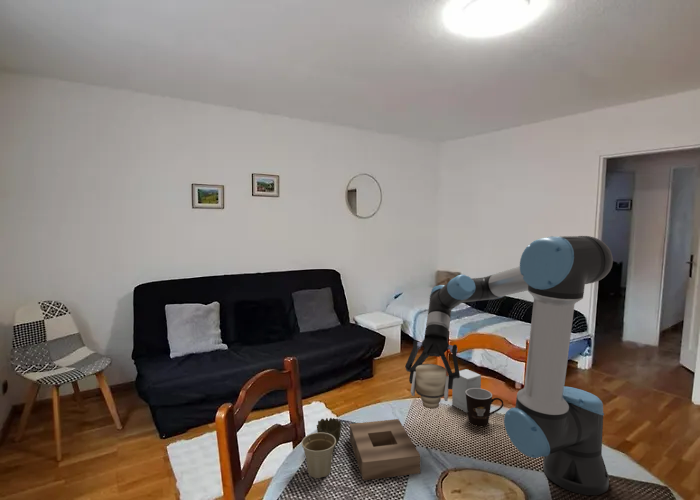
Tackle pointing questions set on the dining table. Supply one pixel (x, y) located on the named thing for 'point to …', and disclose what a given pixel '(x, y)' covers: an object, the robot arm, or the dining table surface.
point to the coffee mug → (479, 406)
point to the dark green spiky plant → (330, 427)
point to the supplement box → (464, 387)
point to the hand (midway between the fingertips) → (428, 396)
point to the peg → (430, 384)
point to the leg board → (383, 449)
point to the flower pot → (319, 453)
